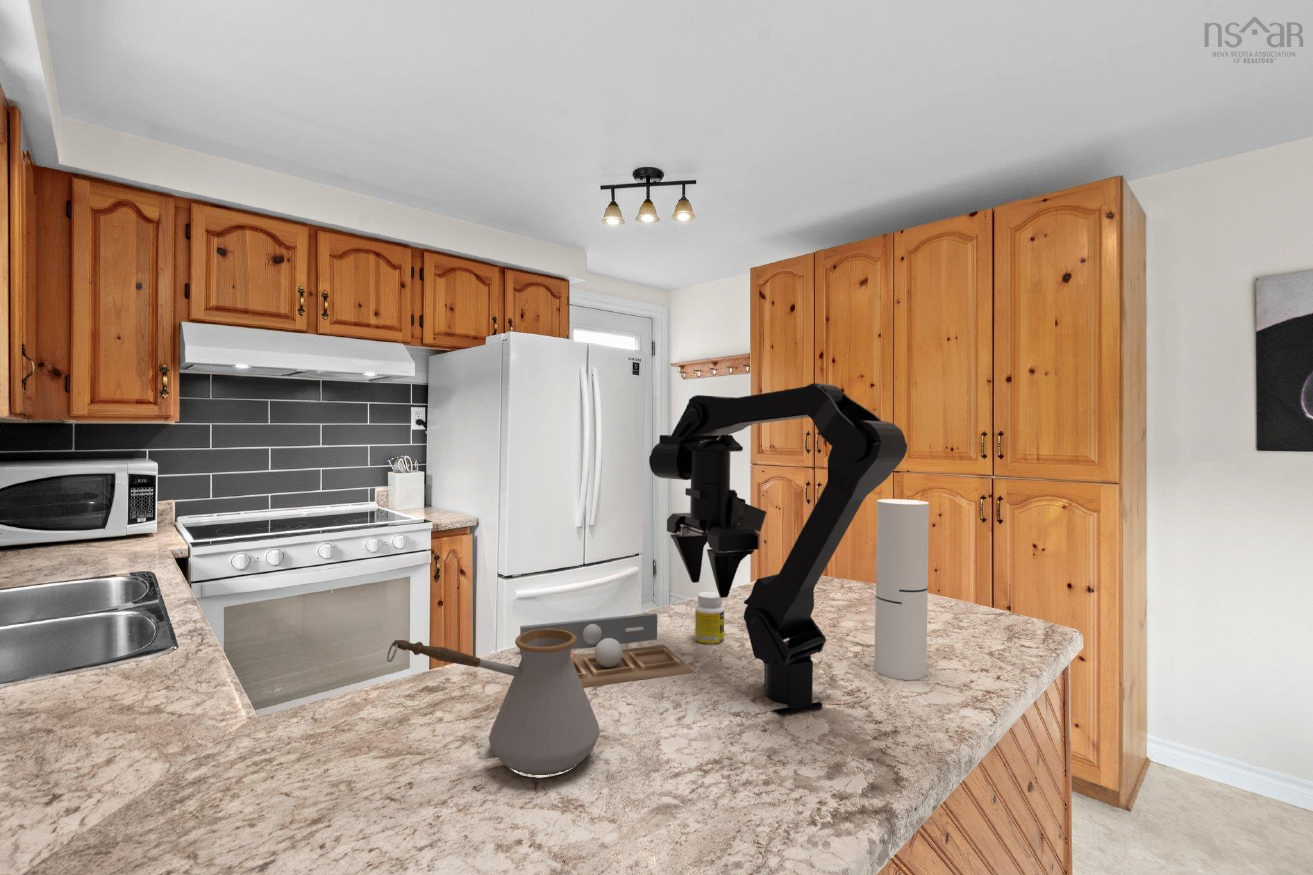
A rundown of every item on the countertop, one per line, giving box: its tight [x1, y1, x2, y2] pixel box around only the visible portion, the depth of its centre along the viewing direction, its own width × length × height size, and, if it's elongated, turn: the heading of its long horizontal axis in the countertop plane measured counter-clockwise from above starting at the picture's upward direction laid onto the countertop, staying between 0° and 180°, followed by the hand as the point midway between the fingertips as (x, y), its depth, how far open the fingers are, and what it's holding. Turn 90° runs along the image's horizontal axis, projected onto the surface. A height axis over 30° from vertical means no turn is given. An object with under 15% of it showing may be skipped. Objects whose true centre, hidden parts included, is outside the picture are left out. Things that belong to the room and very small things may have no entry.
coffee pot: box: [386, 629, 600, 775], centre depth 64 cm, size 21×12×15 cm, turn 120°
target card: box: [519, 612, 658, 655], centre depth 99 cm, size 1×22×5 cm, turn 112°
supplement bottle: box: [694, 591, 725, 646], centre depth 102 cm, size 5×5×8 cm
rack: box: [574, 644, 697, 689], centre depth 90 cm, size 12×22×2 cm, turn 111°
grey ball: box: [594, 638, 623, 668], centre depth 90 cm, size 4×4×4 cm
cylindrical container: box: [874, 498, 930, 681], centre depth 93 cm, size 7×7×25 cm
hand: (708, 589), depth 91 cm, fingers open, 9 cm apart
